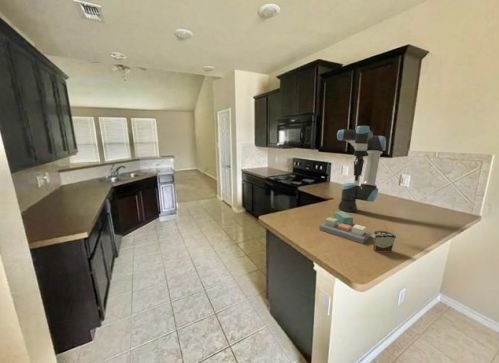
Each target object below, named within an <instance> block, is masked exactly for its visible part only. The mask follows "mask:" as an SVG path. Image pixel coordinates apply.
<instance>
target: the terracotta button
mask: <svg viewBox="0 0 499 363" xmlns="http://www.w3.org/2000/svg"><path fill="white" fill-rule="evenodd" d="M338 229H340V230H343V231H346V232H348V231H349V230H351V226H350V225H346V224H343V223H342V224H340V225H339V226H338Z"/></svg>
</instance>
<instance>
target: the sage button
mask: <svg viewBox="0 0 499 363" xmlns="http://www.w3.org/2000/svg"><path fill="white" fill-rule="evenodd" d="M324 223H325V225H327V226H331V227H335V226H336V225H337V223H338V219H335V218H334V217H330V216H329V217H327V218H325V220H324Z"/></svg>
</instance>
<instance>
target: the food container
mask: <svg viewBox="0 0 499 363" xmlns="http://www.w3.org/2000/svg"><path fill="white" fill-rule="evenodd" d="M372 238H373V251H374V252H377V253H378V252H381V253H383V252H387V253H388V252H392V250H393V247H394V244H395V239H397V235H396V234H395V233H393V232H390V231H386V230H375V231H374V232H373V234H372Z"/></svg>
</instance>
